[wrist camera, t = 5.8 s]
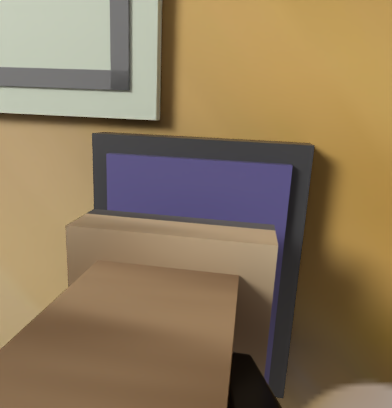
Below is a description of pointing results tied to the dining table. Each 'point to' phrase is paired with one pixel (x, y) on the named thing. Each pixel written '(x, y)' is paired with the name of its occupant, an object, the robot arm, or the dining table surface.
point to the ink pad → (217, 200)
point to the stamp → (146, 315)
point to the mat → (81, 58)
